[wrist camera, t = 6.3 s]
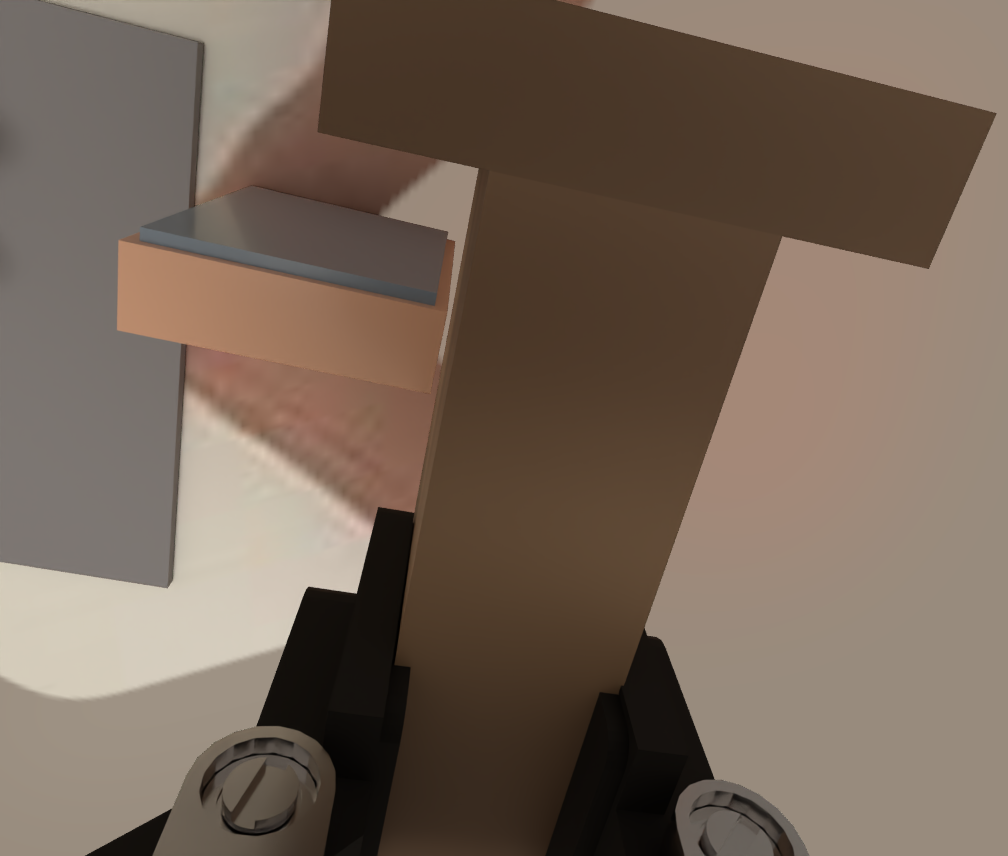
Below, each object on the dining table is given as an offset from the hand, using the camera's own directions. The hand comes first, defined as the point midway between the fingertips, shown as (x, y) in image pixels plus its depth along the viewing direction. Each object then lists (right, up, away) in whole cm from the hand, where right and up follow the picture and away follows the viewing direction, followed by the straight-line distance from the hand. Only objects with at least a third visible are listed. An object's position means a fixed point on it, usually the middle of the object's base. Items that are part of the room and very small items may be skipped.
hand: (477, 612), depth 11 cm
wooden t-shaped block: (0, 0, +1) cm, 1 cm away
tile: (-5, +9, +13) cm, 17 cm away
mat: (-15, +6, +14) cm, 21 cm away
